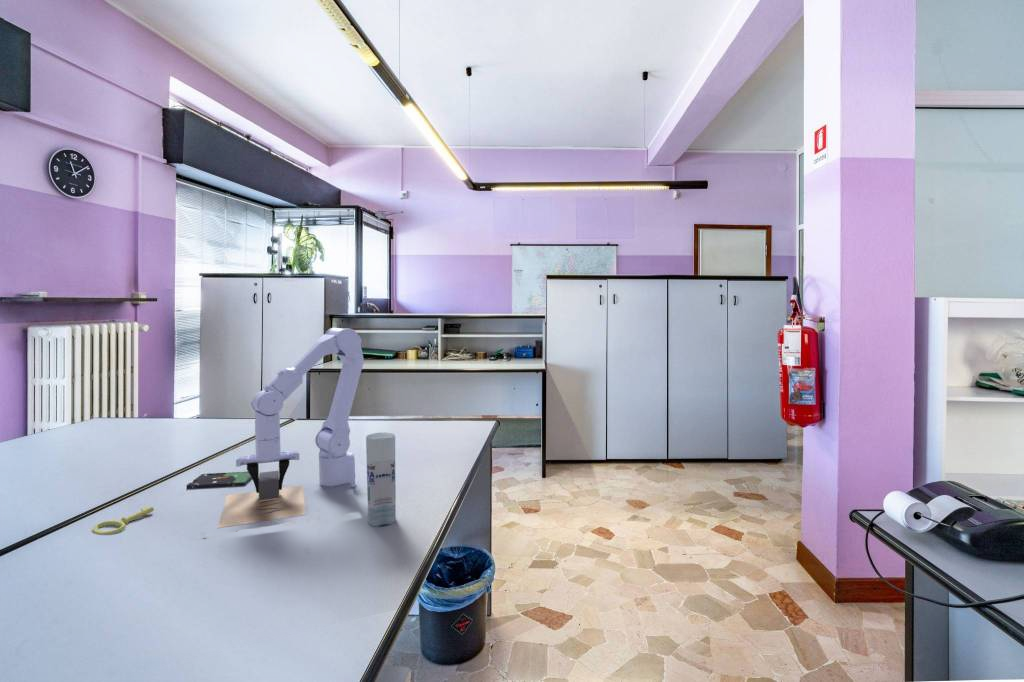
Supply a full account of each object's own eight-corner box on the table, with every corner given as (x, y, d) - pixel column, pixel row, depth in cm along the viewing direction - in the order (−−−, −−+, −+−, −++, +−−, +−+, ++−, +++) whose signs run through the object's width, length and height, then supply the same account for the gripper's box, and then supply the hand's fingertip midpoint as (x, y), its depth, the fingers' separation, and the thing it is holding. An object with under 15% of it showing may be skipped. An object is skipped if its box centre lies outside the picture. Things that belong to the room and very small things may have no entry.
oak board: (302, 489, 139) (302, 485, 139) (306, 519, 119) (306, 514, 119) (227, 499, 132) (226, 495, 132) (217, 533, 112) (217, 527, 112)
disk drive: (186, 495, 136) (246, 491, 139) (185, 485, 136) (245, 481, 139) (201, 483, 146) (257, 479, 149) (201, 473, 146) (257, 470, 149)
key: (156, 514, 123) (156, 505, 123) (115, 537, 111) (115, 527, 111) (127, 513, 124) (126, 505, 123) (83, 536, 111) (82, 526, 111)
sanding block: (279, 489, 136) (278, 470, 135) (279, 499, 128) (278, 479, 128) (260, 491, 134) (259, 472, 134) (259, 501, 127) (258, 481, 126)
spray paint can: (365, 517, 120) (364, 433, 119) (393, 513, 123) (392, 431, 122) (369, 528, 114) (368, 440, 113) (398, 523, 117) (397, 437, 116)
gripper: (298, 431, 137) (299, 481, 138) (236, 437, 131) (238, 489, 132) (299, 437, 131) (300, 489, 131) (234, 443, 125) (236, 498, 125)
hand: (269, 490), depth 131 cm, fingers closed on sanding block, 4 cm apart
